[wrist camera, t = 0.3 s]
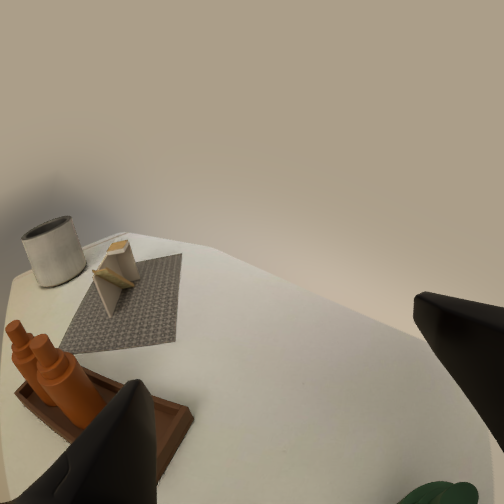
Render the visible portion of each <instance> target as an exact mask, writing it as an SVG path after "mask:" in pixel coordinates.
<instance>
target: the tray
mask: <svg viewBox="0 0 504 504" xmlns="http://www.w3.org/2000/svg"><path fill="white" fill-rule="evenodd" d="M81 367H82V366H81ZM82 369H83V371H84V372H85V374H86V375H87V377H88V378H89V380H90V381H91V383H92V384H93V385H94V387H95V388H96V390H97V391H98V392H99V394H100V395H101V397H102V398H103V399H104V401H105V402H106V404H108V403H109V401H110V400H111V399H112V398H113V397H114V396H115V395H116V394H117V393H118V391H119V390H120V389H121V388H122V387H123V386H124V385H123V384H121V383H118V382H116V381H114V380H111V379H109V378H106V377H104V376H102V375H100V374H97V373H95V372H93V371H91V370H89V369H86V368H84V367H82ZM14 394H15V395H16V396H17V397H18V399H19V400H20V401H21V402H22V403H23V404H24V405H25V406H26V407H27V408H28V409H29V410H30V411H31V412H32V413H33V414H35V415H36V416H37V417H38V418H39V419H40V420H41V421H43V422H44V423H45V424H46V425H47V426H49V427H50V428H51V429H52V430H54V431H55V432H56V433H57V434H59V435H60V436H61V437H63V438H64V439H65V440H67V441H68V442H69V443H71V444H72V443H73V441H74V440H75V439H76V438H77V437H78V436H79V435H80V434H81V433H82V431H83V430H84V429H80V428H78V427H76V426H75V425H74V424H73V423H72V422H71V421H70V419H69V418H68V417H67V416H66V415H65V414H64V413H63V412H62V410H61V409H60V408H59V407H58V406H55V407H50V406H48V405H46V404H45V403H44V402H43V401H42V400H41V399H40V397H39V396H38V395H37V394H36V392H35V391H34V390H33V389H32V387H31V386H30V385H29V383H28V382H27V381H25V382H24V383H23V384H22V385H21V386H20V387H19V388H18V389H17V390H16V391H15V393H14ZM152 397H153V400H154V411H155V425H156V437H157V470H156V484H157V483H158V481H159V479H160V478H161V476H162V474H163V473H164V471H165V469H166V467H167V466H168V464H169V462H170V461H171V459H172V457H173V455H174V454H175V452H176V450H177V448H178V447H179V445H180V443H181V441H182V440H183V438H184V436H185V434H186V433H187V431H188V429H189V427H190V425H191V424H192V422H193V420H194V417H193V416H192V414H191V412H190V410H189V408H188V407H187V406H183V405H180V404H177V403H174V402H171V401H167V400H164V399H161V398H158V397H156V396H153V395H152Z"/></svg>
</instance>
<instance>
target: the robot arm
mask: <svg viewBox="0 0 504 504" xmlns="http://www.w3.org/2000/svg"><path fill="white" fill-rule="evenodd" d="M413 319H414V321H415V324H416V325H417V327H418V328H419V330H420V331H421V333H422V334H423V336H424V338H425V339H426V341H427V342H428V344H429V346H430V347H431V349H432V350H433V352H434V353H435V355H436V356H437V358H438V359H439V360H440V362H441V363H442V364H443V366H444V367H445V368H446V369H447V371H448V372H449V373H450V375H451V376H452V377H453V379H454V380H455V381H456V383H457V384H458V386H459V387H460V388H461V390H462V391H463V392H464V394H465V395H466V397H467V398H468V399H469V401H470V402H471V404H472V405H473V406H474V408H475V409H476V411H477V412H478V414H479V415H480V417H481V418H482V420H483V421H484V422H485V424H486V425H487V427H488V429H489V430H490V432H491V433H492V435H493V436H494V438H495V439H496V440H497V442H498V444H499V446H500V448H501V449H502V451H503V452H504V308H503V307H498V306H494V305H489V304H484V303H479V302H474V301H469V300H464V299H459V298H455V297H450V296H445V295H440V294H436V293H431V292H422V293H420V294H418V295H416V296H415V298H414V310H413ZM156 470H157V437H156V425H155V411H154V400H153V397H152V395H151V394H150V392H149V391H148V389H147V388H146V386H145V385H144V383H143V382H142V381H141V380H140V379H136V380H130V381H128V382H127V383H126V384H125V385H124V386H123V387H122V388H121V389H120V390H119V391H118V393H117V394H116V395H115V396H114V397H113V398H112V399H111V400H110V401H109V403H108V404H107V405H106V406H105V407H104V408H103V409H102V410H101V411H100V413H99V414H98V415H97V416H96V417H95V418H94V419H93V420H92V421H91V423H90V424H89V425H88V426H87V427H86V428H85V429H84V430H83V431H82V433H81V434H80V435H79V436H78V437H77V438H76V439H75V440H74V441H73V443H72V444H71V445H70V446H69V447H68V448H67V449H66V451H64V453H63V454H62V455H61V456H60V457H59V458H58V459H57V460H56V461H55V462H54V464H53V465H52V466H51V467H50V468H49V469H48V470H47V471H46V472H45V473H44V474H43V475H42V476H41V477H39V478H38V479H37V480H36V481H35V482H34V483H33V484H32V485H31V486H30V487H29V488H28V489H26V490H25V491H24V492H23V493H22V494H21V495H20V496H19V497H17V498H16V499H14V500H12V501H9V502H5V503H0V504H157V484H156Z"/></svg>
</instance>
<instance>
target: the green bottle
mask: <svg viewBox="0 0 504 504" xmlns="http://www.w3.org/2000/svg"><path fill="white" fill-rule="evenodd" d="M478 499H479V495H478V491H477V489H476V487H475V486H474V485H472V484H470V483H468V482H459V483H455V484H453V483H450V482H444V481H437V482H431V483H427V484H425V485H422V486H420V487H418V488H416V489H415V490H413V491H412V492H411V493H409V494H408V495H407V496H406V497H405V498H403V499H402V500H401V501H400V502H398V503H397V504H478Z"/></svg>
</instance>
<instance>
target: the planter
mask: <svg viewBox="0 0 504 504" xmlns="http://www.w3.org/2000/svg"><path fill="white" fill-rule="evenodd" d="M21 239H22V242H23V245H24V248H25V250H26V253H27V256H28V259H29V262H30V264H31V267H32V269H33V272H34V275H35V277H36V279H37V282H38V283H39V285H40V286H43V287H55V286H58V285H61V284H64V283H66V282H68V281H70V280H71V279H73V278H75V277H76V276H77V275H78V274H80V273H81V272H82V270H83V269H84V267H85V265H86V258H85V256H84V253H83V250H82V247H81V245H80V242H79V239H78V236H77V233H76V230H75V227H74V224H73V221H72V217H71V216H62V217H59V218H55V219H52V220H50V221H47V222H45V223H43V224H41V225H39V226H37V227H35V228H33V229H31V230H30V231H28V232H27V233H26V234H24V235H23V237H22V238H21Z"/></svg>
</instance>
